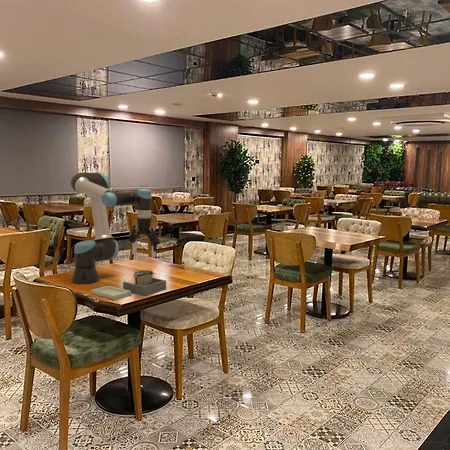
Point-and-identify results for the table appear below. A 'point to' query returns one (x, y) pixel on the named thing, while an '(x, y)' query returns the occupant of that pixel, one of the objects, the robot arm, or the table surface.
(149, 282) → the food container
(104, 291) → the tray
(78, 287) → the table surface
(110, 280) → the table surface
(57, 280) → the table surface
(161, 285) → the bay
